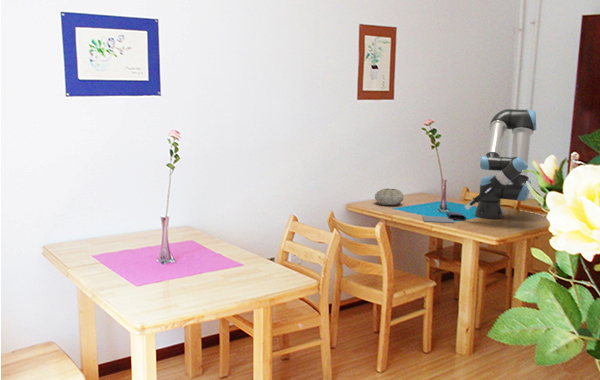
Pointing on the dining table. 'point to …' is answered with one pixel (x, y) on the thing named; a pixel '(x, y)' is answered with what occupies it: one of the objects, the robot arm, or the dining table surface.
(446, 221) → the mat
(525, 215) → the dining table surface
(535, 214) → the dining table surface
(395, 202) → the cratered grey rock
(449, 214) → the flask
